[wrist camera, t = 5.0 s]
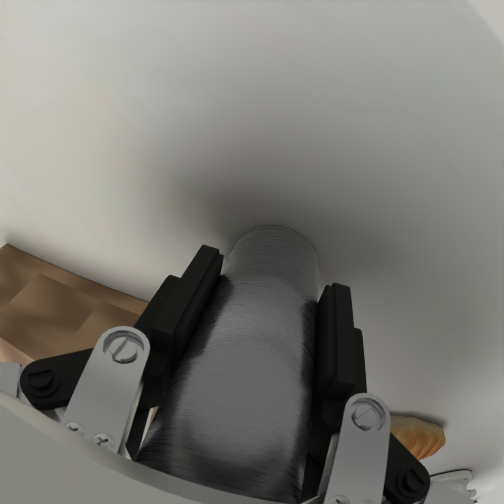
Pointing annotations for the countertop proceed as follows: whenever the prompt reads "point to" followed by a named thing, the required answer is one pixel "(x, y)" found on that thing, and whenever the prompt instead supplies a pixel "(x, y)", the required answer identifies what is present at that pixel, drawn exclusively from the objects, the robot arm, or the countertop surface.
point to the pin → (245, 376)
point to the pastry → (417, 435)
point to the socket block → (55, 310)
